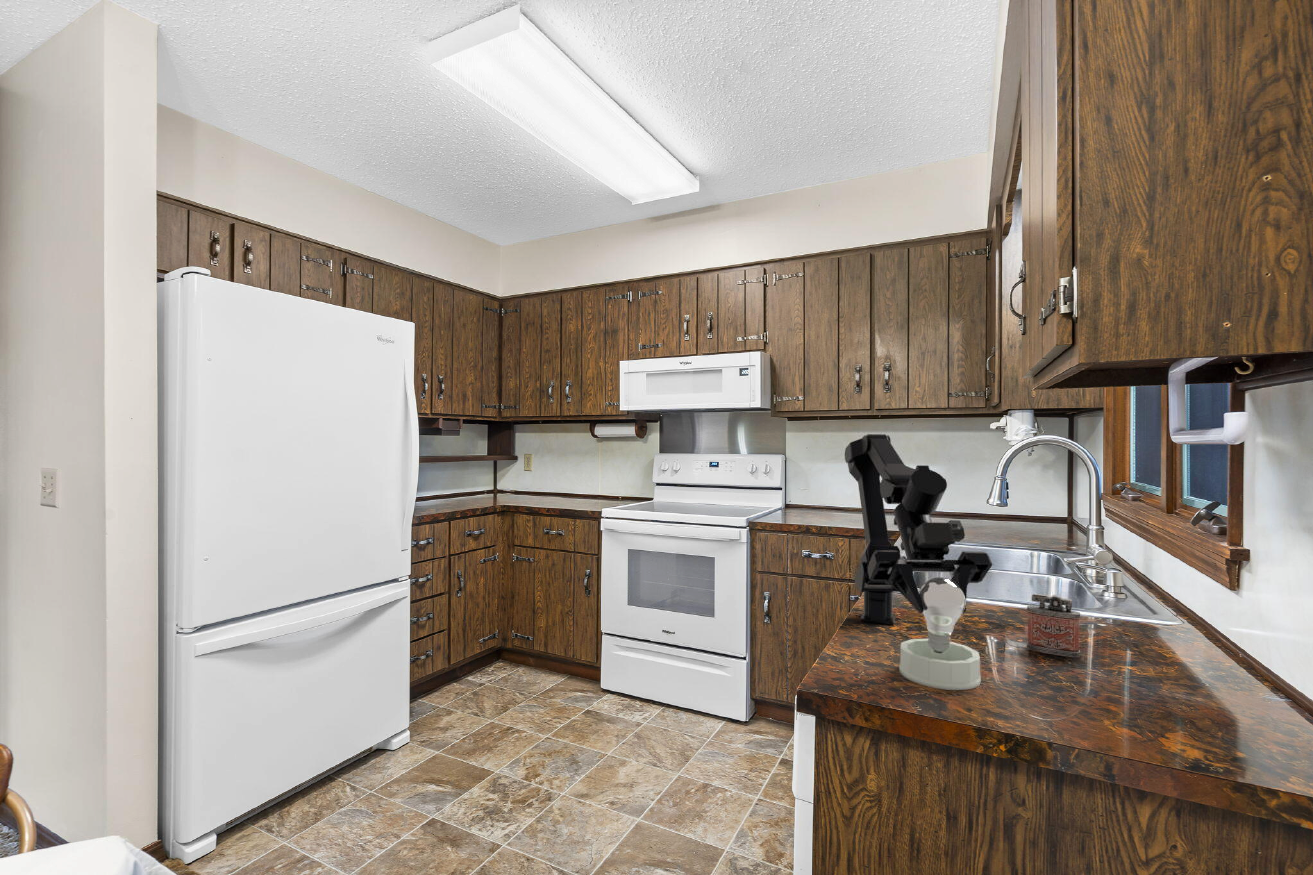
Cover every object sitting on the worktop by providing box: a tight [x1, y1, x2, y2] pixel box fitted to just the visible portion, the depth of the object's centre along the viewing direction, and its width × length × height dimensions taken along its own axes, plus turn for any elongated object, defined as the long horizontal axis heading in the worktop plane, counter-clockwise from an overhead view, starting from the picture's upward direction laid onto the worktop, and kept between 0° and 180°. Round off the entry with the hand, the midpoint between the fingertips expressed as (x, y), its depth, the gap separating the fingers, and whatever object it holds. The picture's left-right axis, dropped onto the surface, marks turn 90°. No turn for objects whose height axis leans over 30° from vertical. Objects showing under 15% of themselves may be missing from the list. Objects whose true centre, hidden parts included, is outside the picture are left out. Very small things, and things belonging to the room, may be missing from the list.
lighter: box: [1026, 593, 1081, 658], centre depth 112 cm, size 8×3×10 cm, turn 56°
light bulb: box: [918, 576, 967, 653], centre depth 100 cm, size 7×7×12 cm
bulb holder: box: [898, 638, 982, 691], centre depth 100 cm, size 12×12×4 cm
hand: (942, 612), depth 99 cm, fingers closed on light bulb, 6 cm apart
